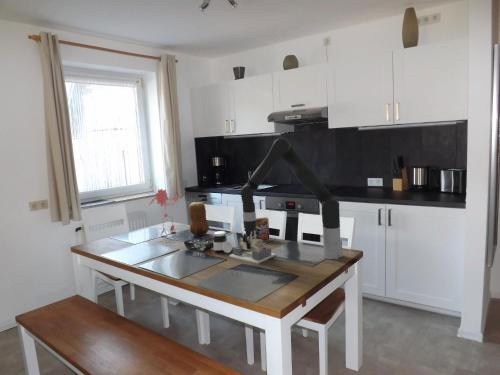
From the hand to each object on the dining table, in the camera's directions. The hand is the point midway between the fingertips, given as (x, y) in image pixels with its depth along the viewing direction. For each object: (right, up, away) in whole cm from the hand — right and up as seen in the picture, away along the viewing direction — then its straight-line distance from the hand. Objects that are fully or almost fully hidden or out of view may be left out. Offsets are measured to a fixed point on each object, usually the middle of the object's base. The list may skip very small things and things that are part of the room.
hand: (251, 247), depth 206 cm
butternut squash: (-38, 0, +54) cm, 66 cm away
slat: (0, -1, 0) cm, 1 cm away
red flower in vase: (-66, -1, +66) cm, 93 cm away
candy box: (+8, -1, +31) cm, 32 cm away
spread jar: (-17, -5, +14) cm, 23 cm away
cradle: (0, -5, +1) cm, 5 cm away
